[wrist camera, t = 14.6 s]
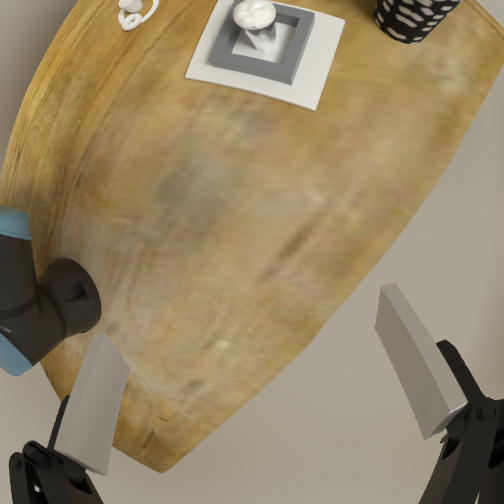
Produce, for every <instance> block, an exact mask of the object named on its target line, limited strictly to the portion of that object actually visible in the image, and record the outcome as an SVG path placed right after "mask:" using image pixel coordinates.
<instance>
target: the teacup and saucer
mask: <svg viewBox="0 0 504 504" xmlns="http://www.w3.org/2000/svg"><path fill="white" fill-rule="evenodd" d="M158 3H159V0H153V6H152V8H151V10H150V11H149V12H148V13H147V14H146V15H145V16H144V17H143V18H142V16H141V15H140V14H138V12H139V11H141V10H142V8H143V3H142V2H141V0H120V2H119V7H121V10H120V12H119V17H118V19H119V22H120V24H121V25H122V29H123V30H126V31H129V30H132V29H134V28H136V27H137V26H138V25H139V24H140V23H142V22H143V21H145V20H146V19H148V18H149V17H150V16H151V15H152V14H153V12H154V11H155V10H156V8H157V6H158ZM125 10H126V11H128V12H130V13H135V14H131V15H129V16H128V17H127V18H125V19H124V12H125ZM132 20H134V21H133V22H131V21H132Z"/></svg>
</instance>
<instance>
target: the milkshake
mask: <svg viewBox="0 0 504 504" xmlns="http://www.w3.org/2000/svg"><path fill="white" fill-rule="evenodd" d="M233 19H234V21H235V22H236V24H237V25H238V26H239V27H240V28H241V30H242V31H243V32H244V34H245V35H246V37H247V38H248V40H249V41H250V42H251V44H252V45H253V46H254V47H255V48H256V49H257V50H262V51H267V50H269V49H272V48H273V47H274V46H275V44H276V10H275V7H274V5H273V4H272V3H271V2H269V1H267V0H245V1H243V2H241V3H240V4H238V5H237V6H236V7H235V9H234V11H233Z"/></svg>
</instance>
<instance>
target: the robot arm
mask: <svg viewBox="0 0 504 504" xmlns="http://www.w3.org/2000/svg"><path fill="white" fill-rule="evenodd" d="M31 240H32V236H31V233H30V224H29V217H28V215H27V213H26V212H25V211H24V210H23V209H20V208H16V207H5V206H0V367H1V368H2V369H3V370H4V371H6V372H7V373H9V374H10V375H12V376H20V375H22V374H23V373H24V372H26V371H27V370H28V369H31V368H32V367H33V366H34V365H35V364H36V363H37V362H39V361H40V360H41V359H42V358H43V357H44V356H45V355H47V354H48V353H49V352H50V351H51V350H52V349H53V348H55V347H56V346H57V345H58V344H59V343H60V342H62V341H63V340H64V339H65V338H67V337H70V336H73V335H76V334H78V333H85V332H87V331H89V330H90V329H92V328H93V327H94V326H95V325H96V324H97V323H98V322H99V320H100V317H101V302H100V298H99V294H98V291H97V289H96V287H95V285H94V283H93V281H92V279H91V278H90V276H89V275H88V274H87V272H86V271H85V270H84V269H83V268H82V267H81V266H80V265H79V264H77V263H76V262H74V261H72V260H69V259H60V260H58V261H56V262H54V263H52V264H50V265H49V266H48V267H47V269H46V270H45V272H44V273H43V274H42V275H41V276H40V277H39V278H38V279H36V273H35V266H34V259H33V251H32V241H31ZM375 329H376V331H377V333H378V335H379V337H380V339H381V341H382V343H383V345H384V347H385V350H386V352H387V354H388V356H389V358H390V360H391V362H392V364H393V366H394V369H395V371H396V373H397V375H398V377H399V380H400V382H401V384H402V387H403V389H404V391H405V393H406V396H407V398H408V400H409V403H410V405H411V408H412V410H413V412H414V415H415V417H416V420H417V422H418V425H419V427H420V430H421V432H422V435H423V438H424V440H427V439H430V438H432V437H433V436H436V435H438V434H440V433H441V432H442V431H443V430H444V429H445V428H446V429H447V432H448V433H447V434H446V435H445V436H444V437H443V438H442V439H441V441H440V443H443V442H444V441H445V442H444V445H443V447H442V450H441V453H440V456H439V459H438V461H437V464H436V466H435V469H434V471H433V474H432V476H431V478H430V480H429V483H428V485H427V487H426V489H425V491H424V494H423V496H422V498H421V500H420V502H419V504H475V501H476V499H477V496H478V494H479V498H478V504H504V399H501V400H493V399H491V398H489V397H485V395H483V393H482V392H481V391H480V388H479V387H478V385H477V383H476V381H475V380H474V378H473V376H472V374H471V373H470V371H469V369H468V367H467V366H466V365H465V362H464V361H463V359H462V358H461V356H460V354H459V353H458V351H457V349H456V348H455V346H453V345H452V344H451V343H450V342H448V341H447V340H443V341H440V342H438V343H435V342H434V340H433V339H432V337H431V336H430V334H429V332H428V331H427V329H426V328H425V326H424V324H423V323H422V321H421V320H420V319H419V317H418V315H417V314H416V312H415V311H414V309H413V308H412V306H411V305H410V303H409V302H408V300H407V299H406V297H405V296H404V294H403V293H402V292H401V290H400V289H399V287H398V286H397V284H396V283H392V284H388V285H384V286H381V289H380V297H379V305H378V311H377V318H376V325H375ZM129 369H130V366H129V364H128V363H127V362H126V360H125V359H124V358H123V356H122V355H121V353H120V352H119V351H118V349H117V348H116V347H115V345H114V344H113V342H112V341H111V339H110V338H109V336H108V335H107V333H95V334H94V336H93V338H92V340H91V343H90V345H89V347H88V350H87V352H86V355H85V357H84V360H83V362H82V365H81V367H80V370H79V373H78V375H77V378H76V381H75V383H74V386H73V389H72V392H71V395H67V396H66V397H65V398H64V400H63V401H62V403H61V405H60V408H59V411H58V414H57V417H56V422H55V423H54V427H53V430H52V434H51V437H50V440H49V444H48V447H47V449H46V448H45V447H43V446H42V445H40V444H39V443H38V442H36V441H29V442H27V443H26V444H25V446H24V448H23V451H22V454H21V453H19V452H15V453H13V454H12V456H11V457H10V460H9V474H10V484H11V493H12V500H13V504H104V503H103V501H102V500H101V498H100V496H99V494H98V493H97V491H96V489H95V487H94V485H93V483H92V481H91V479H90V477H89V476H88V474H87V473H86V472H85V470H86V469H88V470H89V471H91V472H93V473H97V474H101V475H107V470H108V464H109V458H110V453H111V447H112V442H113V437H114V432H115V427H116V423H117V418H118V414H119V409H120V405H121V401H122V396H123V392H124V388H125V384H126V381H127V377H128V373H129ZM34 486H37V487H38V488H39V492H37V491H35V487H34ZM479 491H480V492H479Z"/></svg>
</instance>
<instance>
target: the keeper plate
mask: <svg viewBox="0 0 504 504" xmlns="http://www.w3.org/2000/svg"><path fill="white" fill-rule="evenodd" d="M243 1H245V0H218V2H217V4H216V6H215V8H214V10H213V12H212V14H211V16H210V18H209V21H208V23H207V25H206V27H205V29H204V31H203V34H202V36H201V38H200V41H199V43H198V45H197V48H196V50H195V53H194V55H193V57H192V60H191V62H190V65H189V68H188V70H187V73H186V75H185V78H186V79H188V80H193V81H199V82H205V83H210V84H215V85H220V86H224V87H229V88H233V89H237V90H242V91H246V92H250V93H254V94H257V95H261V96H265V97H268V98H272V99H275V100H279V101H282V102H285V103H288V104H292V105H295V106H298V107H301V108H304V109H307V110H310V111H313V112H315V110H316V107H317V104H318V102H319V99H320V96H321V93H322V90H323V87H324V84H325V81H326V78H327V75H328V72H329V69H330V66H331V63H332V60H333V57H334V54H335V51H336V48H337V45H338V42H339V39H340V36H341V33H342V30H343V27H344V24H345V20H343V19H340V18H337V17H334V16H331V15H327V14H324V13H321V12H317V11H313V10H310V9H306V8H302V7H297V6H293V5H289V4H284V3H279V2H274V1H269V2H271V3H272V4H273V5H274V7H275V10H276V44H275V46H274V47H273V48H272V49H269V50H267V51H262V50H257V49H256V48H255V47H254V46H253V45H252V44H251V42H250V41H249V40H248V38H247V37H246V35H245V34H244V32H243V31H242V30H241V28H240V27H239V26H238V25H237V24H236V22H235V21H234V19H233V11H234V9H235V7H236V6H237V5H238V4H240V3H241V2H243ZM267 1H268V0H267Z"/></svg>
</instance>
